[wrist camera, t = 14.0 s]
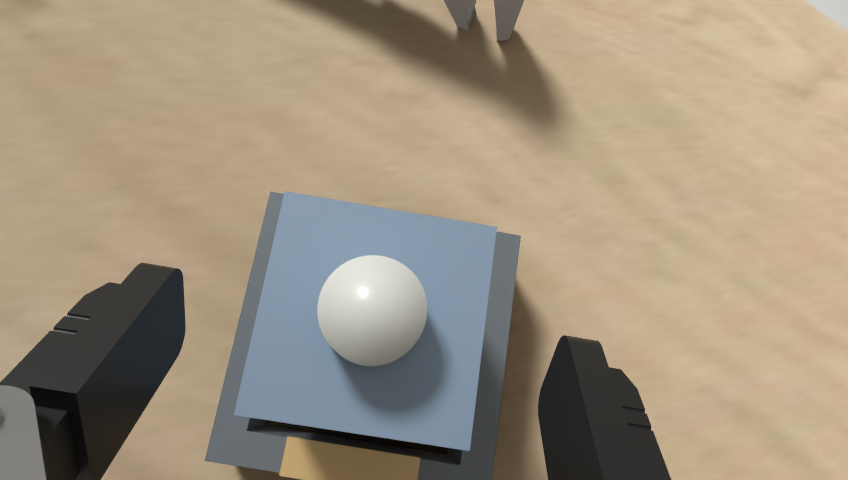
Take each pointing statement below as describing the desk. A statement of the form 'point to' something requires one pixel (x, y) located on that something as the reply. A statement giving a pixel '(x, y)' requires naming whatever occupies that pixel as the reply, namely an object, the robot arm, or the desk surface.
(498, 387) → the pocket plate
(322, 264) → the blue gray block
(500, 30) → the caliper
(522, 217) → the desk surface
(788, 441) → the desk surface
